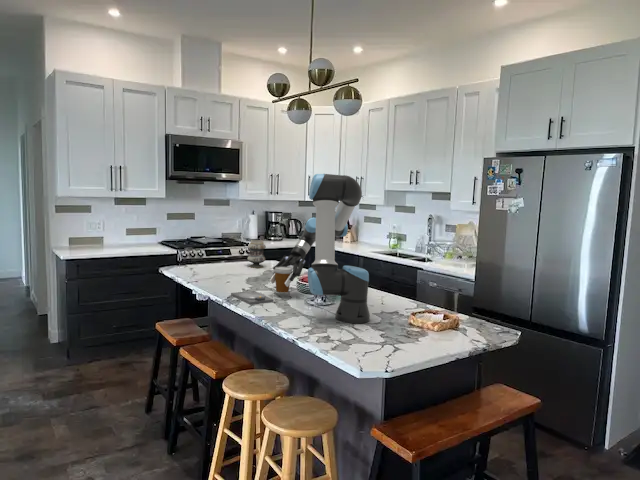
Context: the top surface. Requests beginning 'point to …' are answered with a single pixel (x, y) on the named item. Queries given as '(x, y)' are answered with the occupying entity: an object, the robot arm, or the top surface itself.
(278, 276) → the disposable coffee cup
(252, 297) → the mug warmer
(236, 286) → the top surface
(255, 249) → the grey stone vase
